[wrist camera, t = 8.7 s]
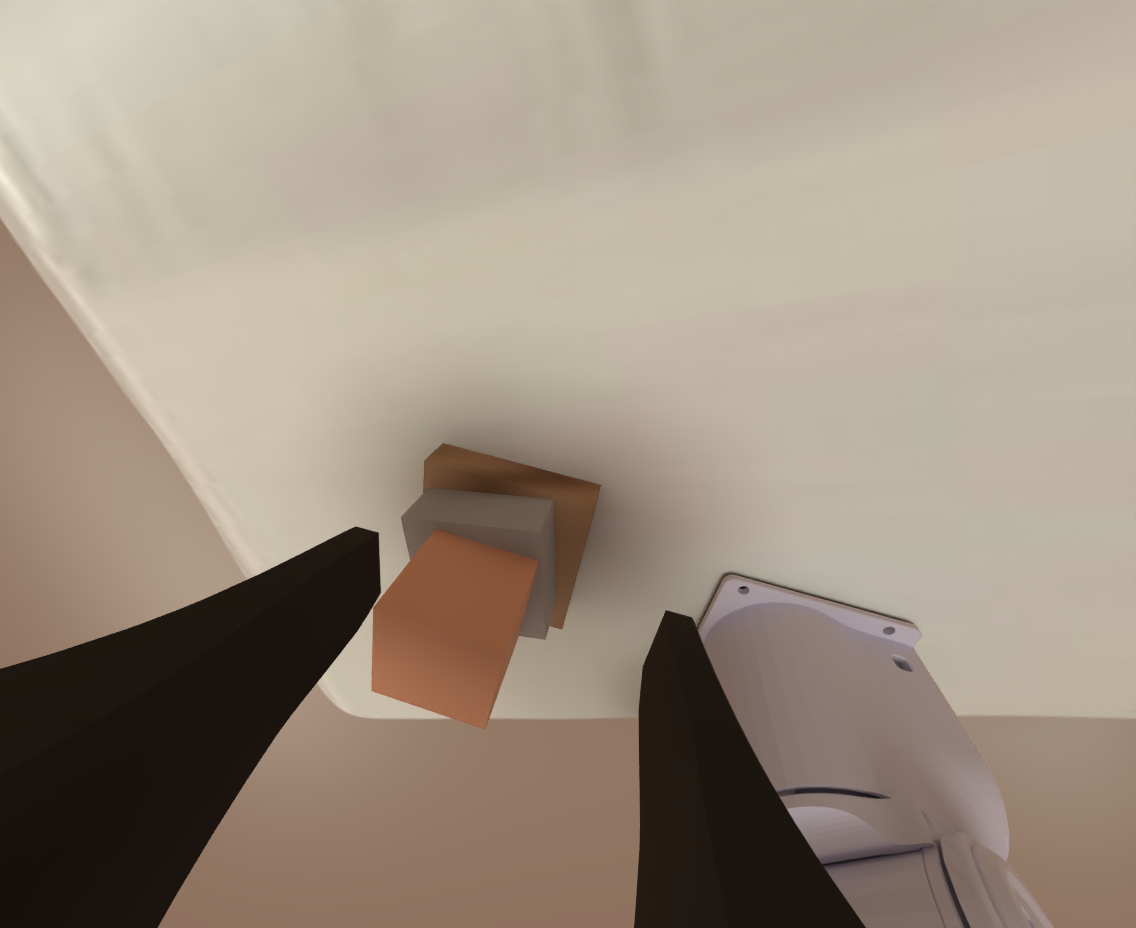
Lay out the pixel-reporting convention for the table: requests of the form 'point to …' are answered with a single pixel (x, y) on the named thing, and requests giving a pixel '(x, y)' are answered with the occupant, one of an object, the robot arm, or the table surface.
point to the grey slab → (495, 537)
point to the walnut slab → (512, 478)
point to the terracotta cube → (451, 627)
